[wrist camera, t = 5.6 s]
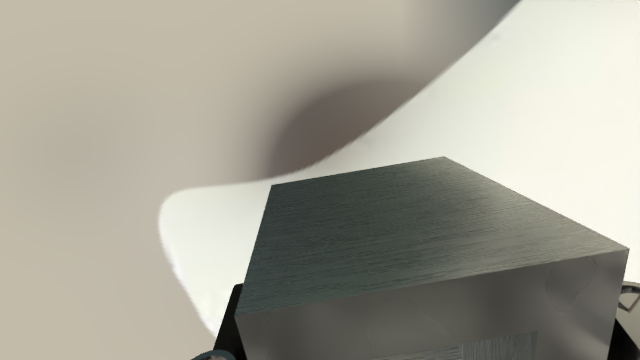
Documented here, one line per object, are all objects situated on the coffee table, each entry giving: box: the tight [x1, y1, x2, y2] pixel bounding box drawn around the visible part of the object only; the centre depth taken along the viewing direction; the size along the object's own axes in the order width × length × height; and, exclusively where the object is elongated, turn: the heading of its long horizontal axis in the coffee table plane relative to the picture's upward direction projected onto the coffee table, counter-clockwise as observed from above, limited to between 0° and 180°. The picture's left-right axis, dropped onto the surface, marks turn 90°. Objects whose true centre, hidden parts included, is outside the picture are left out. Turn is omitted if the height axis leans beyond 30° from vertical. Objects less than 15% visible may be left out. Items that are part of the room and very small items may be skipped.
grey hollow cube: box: [234, 157, 629, 360], centre depth 8 cm, size 6×6×6 cm
